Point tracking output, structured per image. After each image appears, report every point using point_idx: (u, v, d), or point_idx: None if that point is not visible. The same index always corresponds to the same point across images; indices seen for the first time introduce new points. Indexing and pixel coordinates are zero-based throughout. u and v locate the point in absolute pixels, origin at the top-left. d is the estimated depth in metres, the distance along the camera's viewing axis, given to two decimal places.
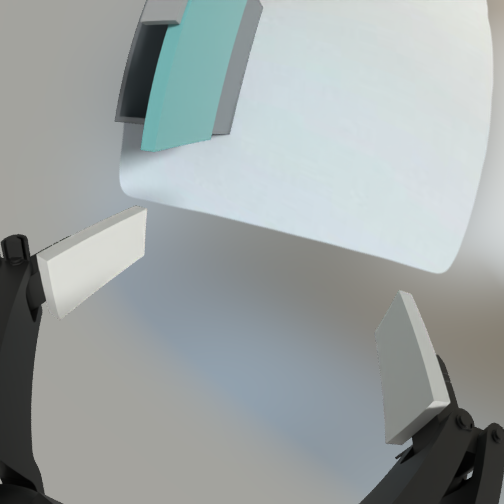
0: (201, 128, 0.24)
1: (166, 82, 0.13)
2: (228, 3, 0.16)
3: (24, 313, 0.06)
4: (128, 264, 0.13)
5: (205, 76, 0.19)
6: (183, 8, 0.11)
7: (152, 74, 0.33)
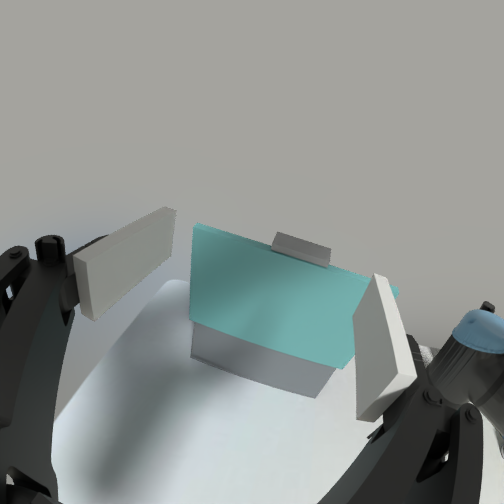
0: (199, 298, 0.35)
1: (232, 239, 0.28)
2: (301, 321, 0.32)
3: (55, 317, 0.07)
4: (157, 265, 0.14)
5: (237, 296, 0.32)
6: (281, 250, 0.27)
7: None
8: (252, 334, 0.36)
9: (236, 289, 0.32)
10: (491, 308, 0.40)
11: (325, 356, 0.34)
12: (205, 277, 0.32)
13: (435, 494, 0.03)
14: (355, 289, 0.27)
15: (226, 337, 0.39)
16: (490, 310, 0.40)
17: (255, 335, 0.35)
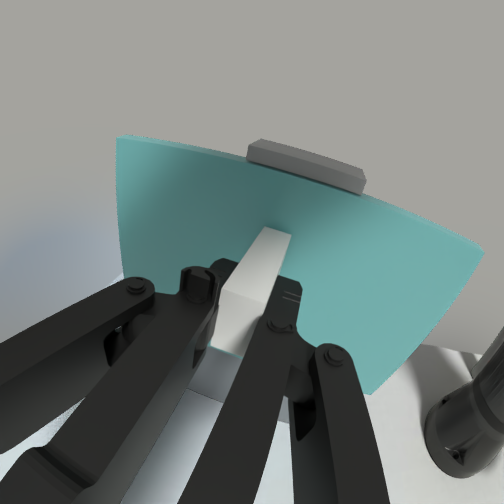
0: (135, 274, 0.20)
1: (175, 146, 0.14)
2: (308, 315, 0.17)
3: (186, 363, 0.07)
4: None
5: None
6: (268, 159, 0.13)
7: None
8: None
9: (188, 252, 0.17)
10: None
11: None
12: (139, 232, 0.18)
13: (316, 455, 0.05)
14: (414, 243, 0.13)
15: None
16: None
17: None
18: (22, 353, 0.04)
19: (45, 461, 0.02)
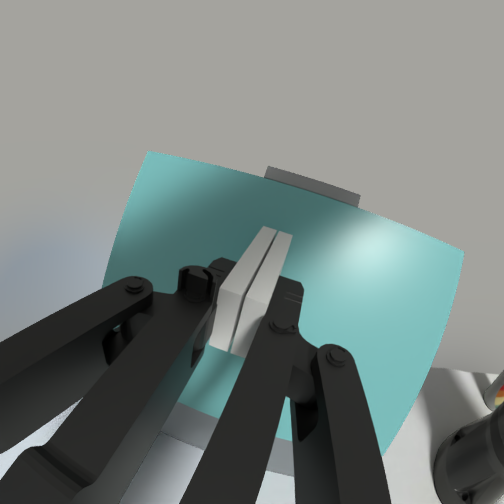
0: None
1: (203, 162, 0.17)
2: (313, 340, 0.15)
3: (185, 362, 0.07)
4: None
5: None
6: (282, 177, 0.16)
7: None
8: (204, 388, 0.16)
9: None
10: None
11: None
12: (137, 245, 0.17)
13: (318, 456, 0.05)
14: (406, 246, 0.15)
15: None
16: None
17: (210, 391, 0.16)
18: (21, 352, 0.04)
19: (45, 461, 0.02)
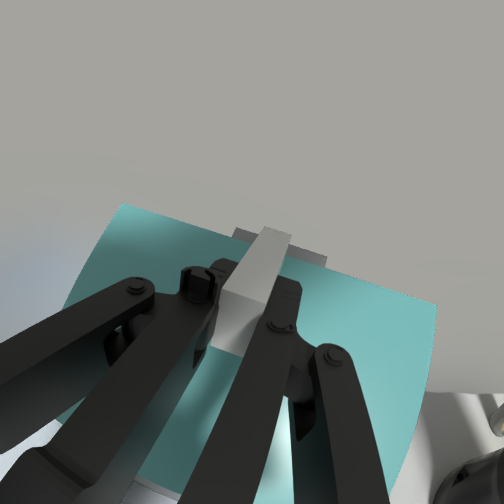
0: None
1: (173, 219, 0.17)
2: None
3: (187, 363, 0.07)
4: None
5: None
6: (249, 238, 0.17)
7: None
8: (152, 453, 0.11)
9: None
10: None
11: None
12: (96, 290, 0.15)
13: (316, 455, 0.05)
14: (376, 304, 0.15)
15: None
16: None
17: (159, 457, 0.11)
18: (22, 353, 0.04)
19: (46, 461, 0.02)
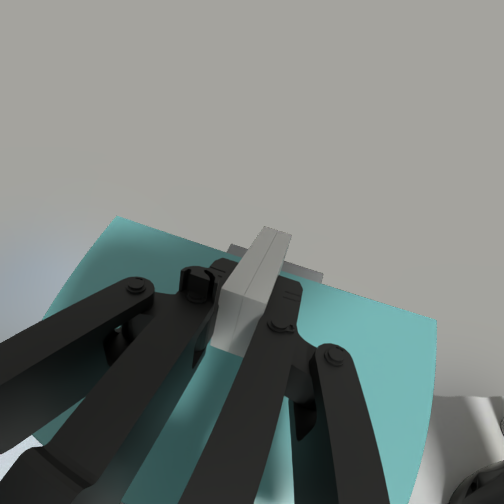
0: None
1: (167, 233, 0.17)
2: (278, 423, 0.11)
3: (186, 363, 0.07)
4: None
5: None
6: None
7: None
8: None
9: None
10: None
11: None
12: (83, 298, 0.14)
13: (316, 456, 0.05)
14: (375, 318, 0.14)
15: None
16: None
17: (141, 480, 0.08)
18: (22, 353, 0.04)
19: (46, 461, 0.02)
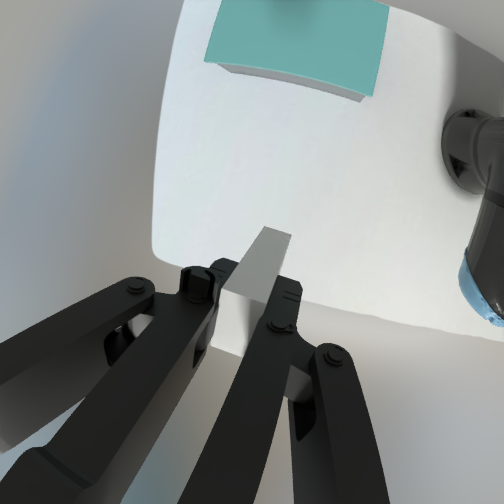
0: (220, 31, 0.28)
1: None
2: (317, 31, 0.26)
3: (187, 363, 0.07)
4: None
5: (258, 18, 0.26)
6: None
7: None
8: (270, 56, 0.29)
9: (258, 12, 0.26)
10: None
11: (349, 74, 0.27)
12: (231, 9, 0.26)
13: (316, 455, 0.05)
14: (354, 1, 0.22)
15: None
16: None
17: (273, 57, 0.29)
18: (22, 353, 0.04)
19: (46, 461, 0.02)
